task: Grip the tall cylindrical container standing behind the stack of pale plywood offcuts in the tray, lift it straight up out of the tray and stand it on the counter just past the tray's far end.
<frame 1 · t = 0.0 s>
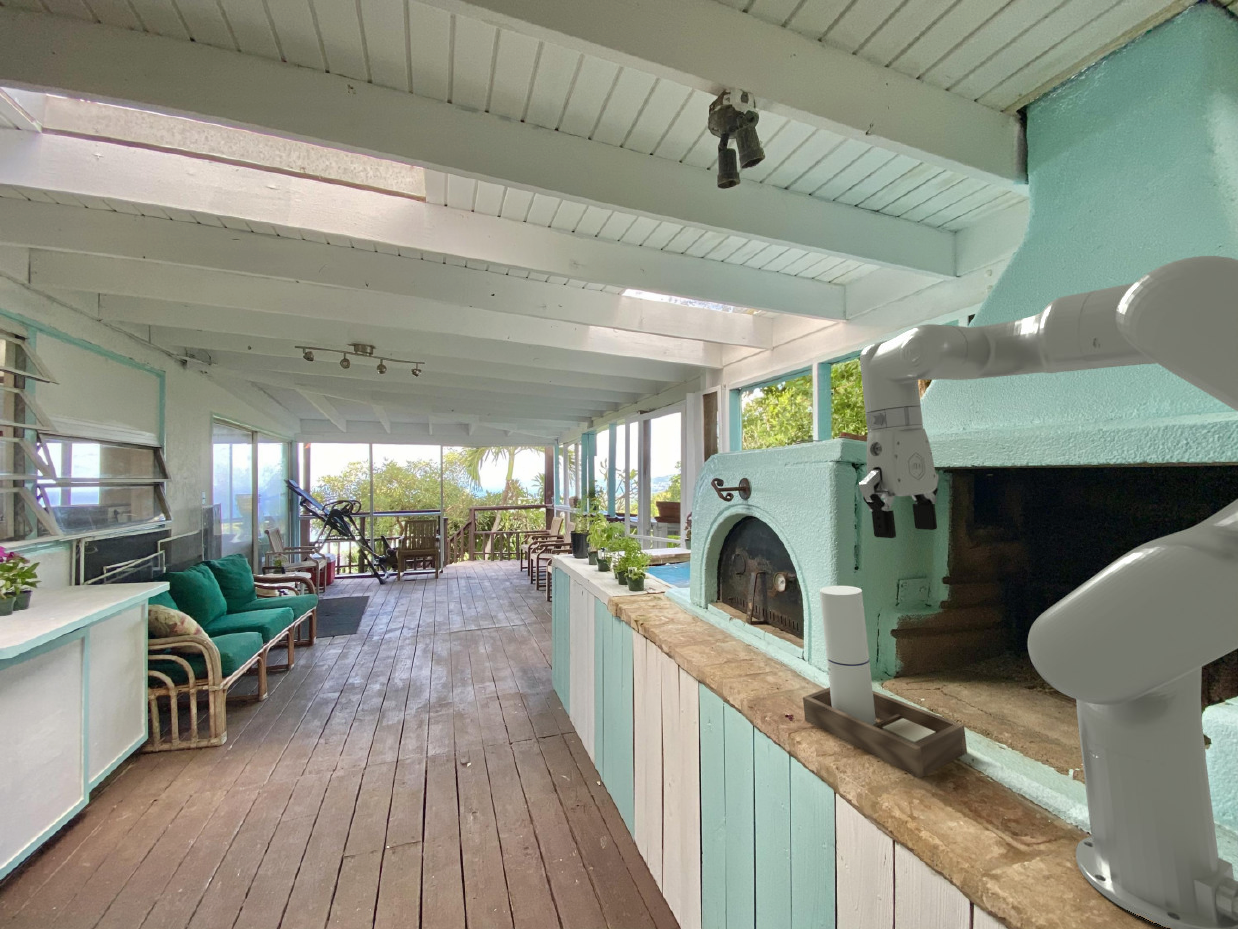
hand: (906, 533, 76), 37 cm above the counter, tool pointing down, fingers open, 9 cm apart
cylindrical container: (855, 728, 90), on the counter
offcut top: (909, 739, 81), point 2 cm above the counter, touching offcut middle
tray: (879, 739, 86), on the counter
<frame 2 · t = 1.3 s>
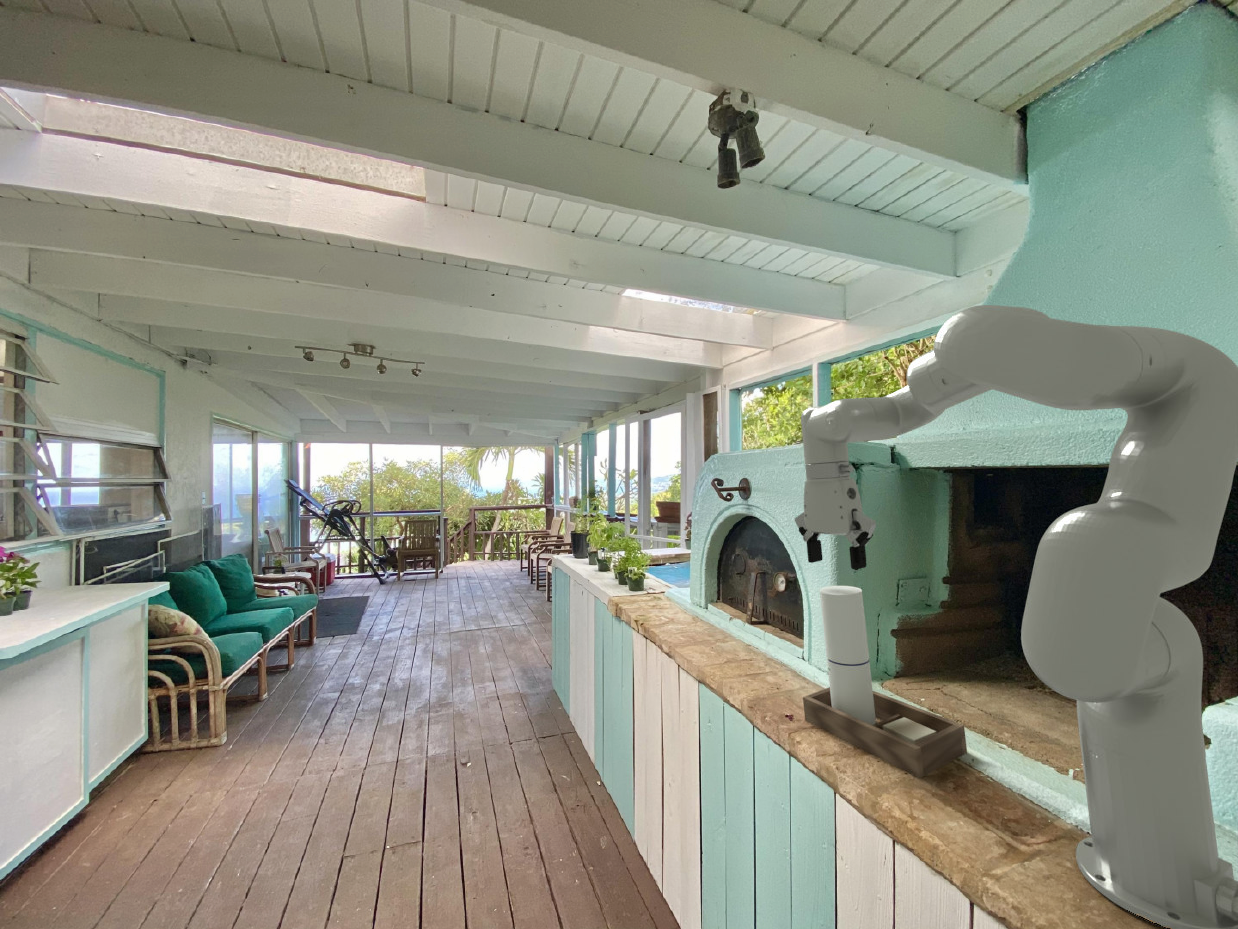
hand: (836, 564, 92), 30 cm above the counter, tool pointing down, fingers open, 9 cm apart
nothing on the counter moved.
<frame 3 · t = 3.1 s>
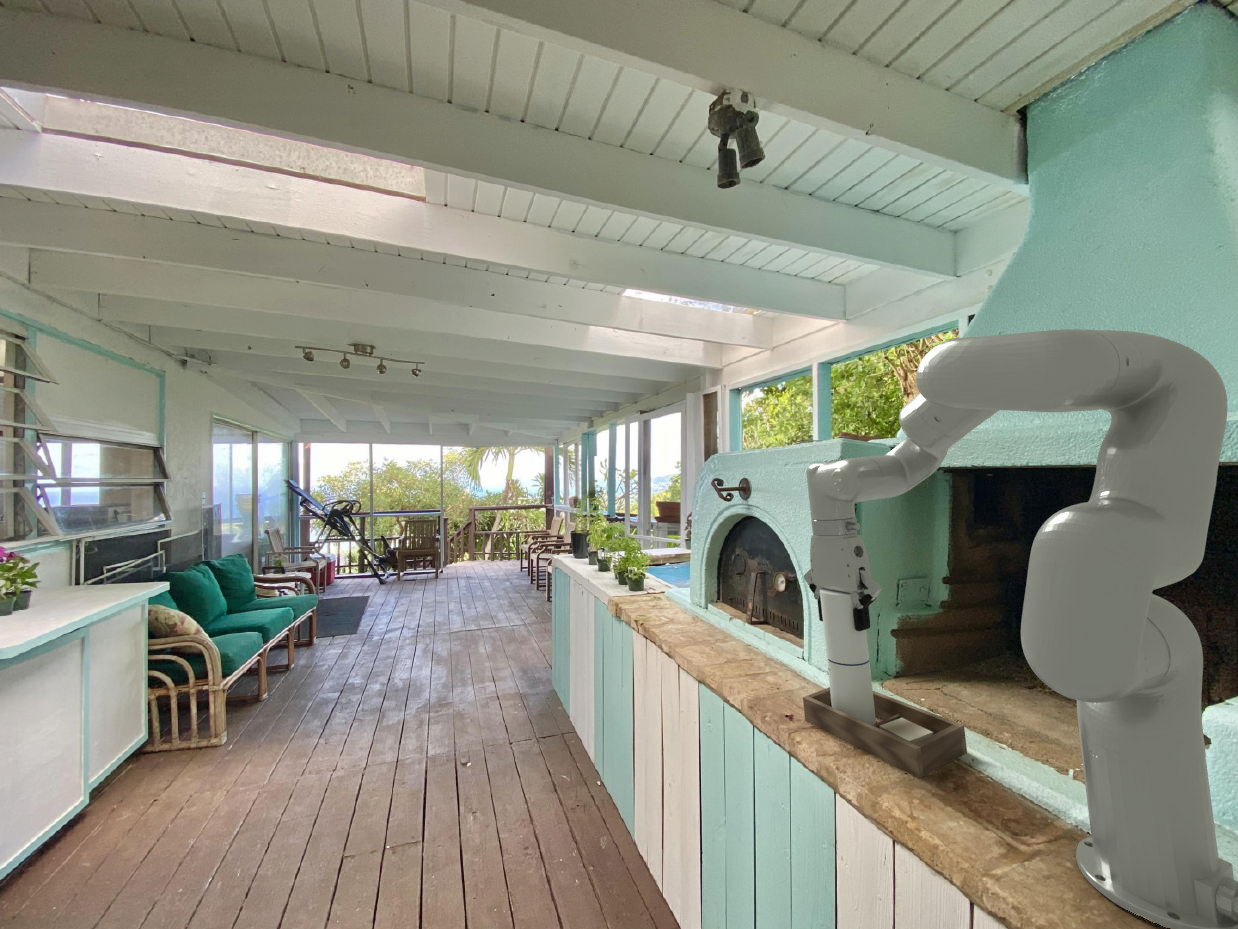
hand: (844, 623, 91), 19 cm above the counter, tool pointing down, fingers closed on cylindrical container, 7 cm apart
cylindrical container: (855, 728, 90), on the counter, touching gripper
everything else where it was.
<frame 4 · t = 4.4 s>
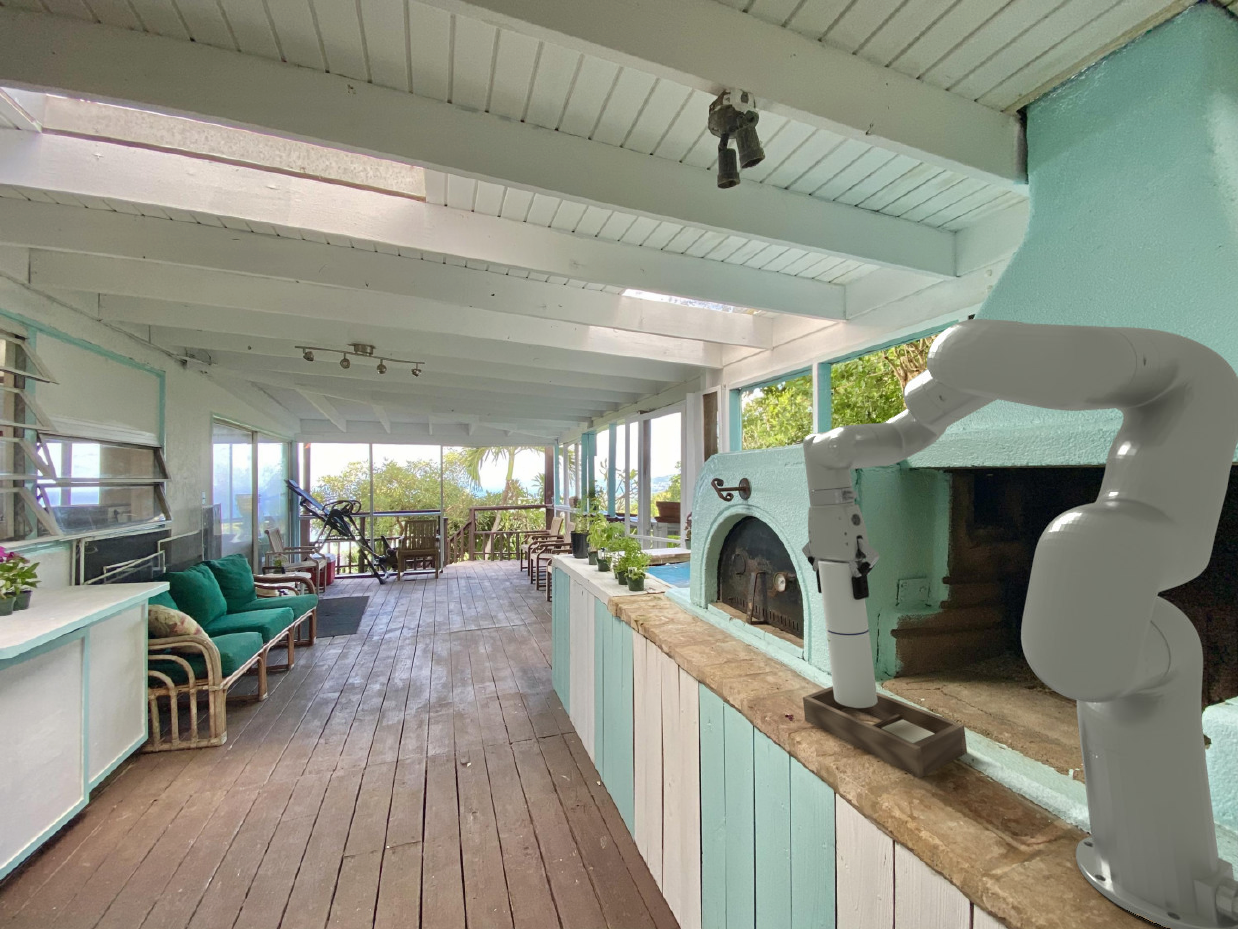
hand: (842, 594, 91), 24 cm above the counter, tool pointing down, fingers closed on cylindrical container, 7 cm apart
cylindrical container: (855, 700, 90), point 5 cm above the counter, touching gripper
everything else where it was.
when the fingers open (20 cm above the counter, at t = 9.6 s): cylindrical container drops 1 cm, on the counter.
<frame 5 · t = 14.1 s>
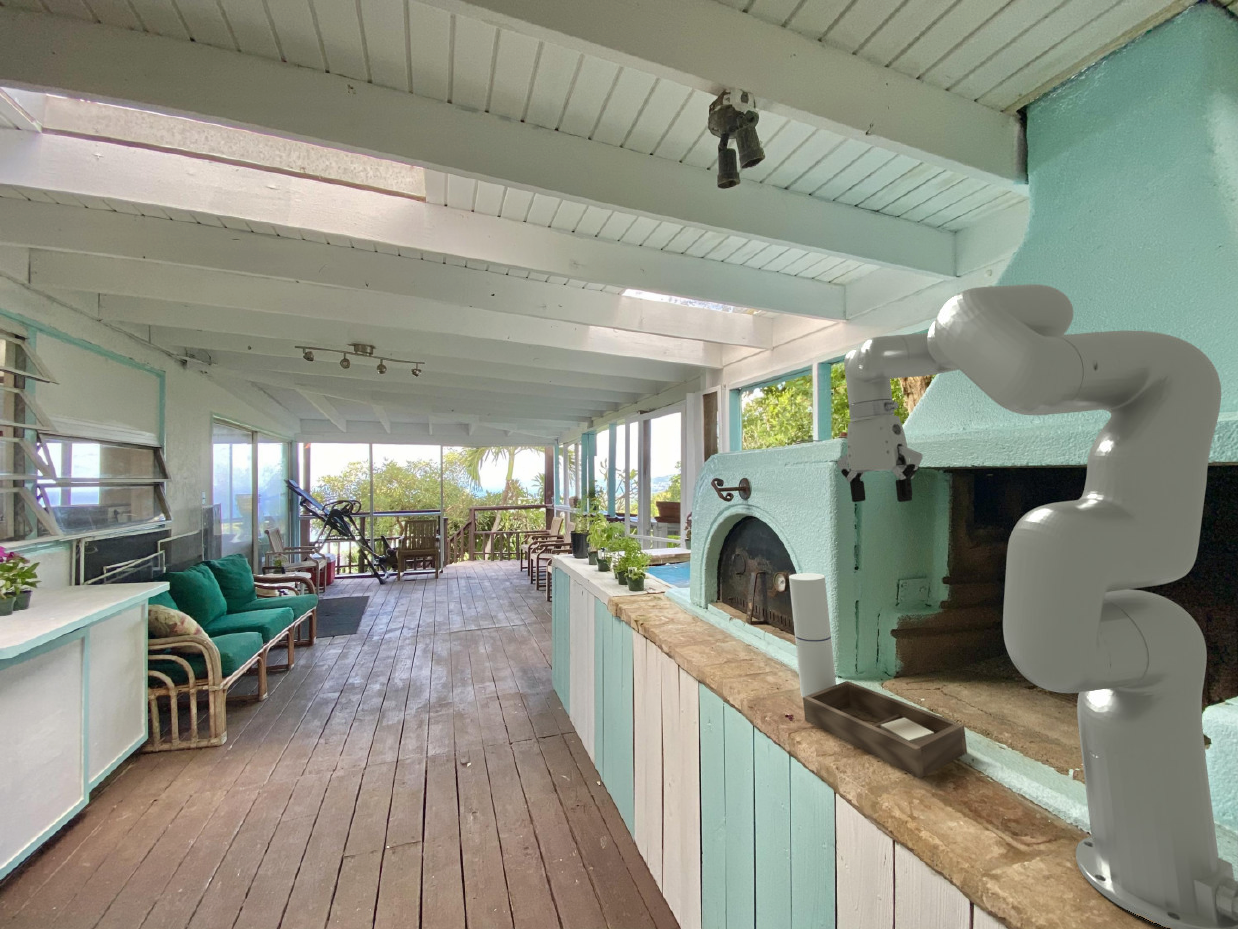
hand: (880, 501, 95), 40 cm above the counter, tool pointing down, fingers open, 9 cm apart
cylindrical container: (819, 696, 104), on the counter
everything else where it was.
at the end: cylindrical container inside the target area (0.3 cm from its centre), on the counter; cylindrical container tilted 0°; offcut top moved 1.0 cm from its start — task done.
